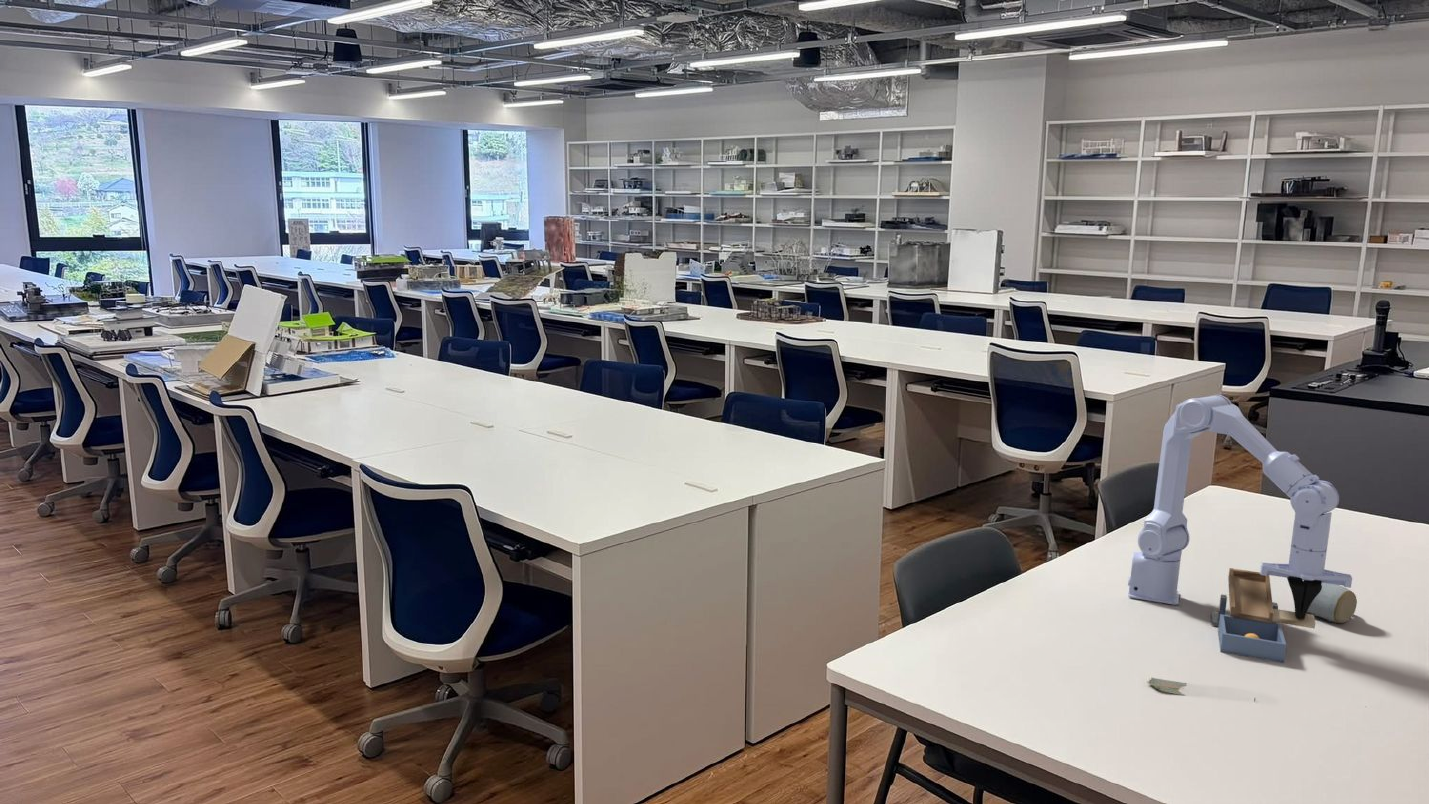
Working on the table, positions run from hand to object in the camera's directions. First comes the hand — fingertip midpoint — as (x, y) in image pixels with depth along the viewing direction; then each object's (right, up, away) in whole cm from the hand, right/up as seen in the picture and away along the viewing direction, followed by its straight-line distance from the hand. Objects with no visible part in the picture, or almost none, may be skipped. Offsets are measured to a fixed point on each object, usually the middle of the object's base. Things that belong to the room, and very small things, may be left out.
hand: (1299, 616), depth 188 cm
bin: (-10, -5, 0) cm, 11 cm away
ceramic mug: (+14, -3, +15) cm, 21 cm away
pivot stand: (-5, -4, +9) cm, 11 cm away
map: (-26, -9, -19) cm, 33 cm away
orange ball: (-10, -4, -3) cm, 12 cm away
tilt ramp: (-2, -1, +8) cm, 8 cm away
